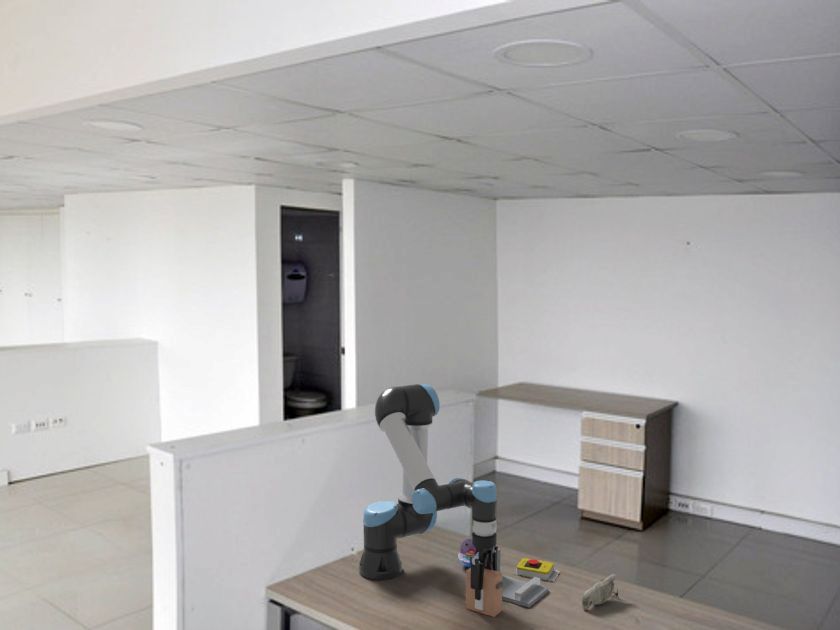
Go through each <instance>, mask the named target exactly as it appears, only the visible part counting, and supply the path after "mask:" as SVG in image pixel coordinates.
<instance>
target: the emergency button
mask: <svg viewBox="0 0 840 630" xmlns="http://www.w3.org/2000/svg"><path fill="white" fill-rule="evenodd" d="M516 567H517V568H516ZM516 567H515V568H516V574H518V575H517V576H520V575H522V576H521V577H525V576H527V577H526V578H531V577H532V578H531V579H533V578H534V577H537V578H540V580H542V579H543V581H547V580H548V581H549V582H555V581H556V580H557V579H558V576H559V575H558V574H560V573H561V571H560V570H559V569H555V564H554V562H551V561H544V560H540V559H539V560H538V559H534V558H526V557H523V558H521V560H520V561H519V563H518V564H517V566H516ZM558 570H559V571H558Z"/></svg>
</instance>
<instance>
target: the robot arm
mask: <svg viewBox="0 0 840 630" xmlns="http://www.w3.org/2000/svg"><path fill="white" fill-rule="evenodd" d="M440 405H441V404H440V398H439V396H438V394H437V392H436V389H435V388H434V387H433V386H432V385H430V384H428V383H416V384H409V385H401V386H391V387H389V388H386V389H384V390H383V391H382V392H381V393H380V394H379V396H378V397H377V399H376V402H375V408H374V416H375V421H376V423H377V426H378V428H379V430H380V431H382V432H384V433H385V435H386V437H387V440H388V441H389V443H390V445H391V447H392V449H393V450H394V452H395V454H396V457H397V459H398V461H399V463H400V464H401V467H402V492H400V494H398V497H397V499H398V500H397V503H396V502H394V501H392V500H379V501H376V502H372V503H370V504H369V505H367V506H366V508H365V509H364V512H363V520H362V522H363V551H362V554H361V557H360V561H359V564H358V573H359V574H360V576H362V577H364V578H367V579H370V580H376V581H377V580H389V579H393V578H396V577H398V576H399V575H401V574H402V572H403V563H402V560H401V556H400V554H399V551H398V540H399V539H402V538H407V537H411V536H415V535H416V536H417V535H423V534H425V533H427V532H430V531H432V530H433V529H434V527H435V525H436V523H437V520H438V512H440V511H444V510H451V509H454V508H459V507H466V508H468V509H471V511H472V512H471V513H472V516H471V519H472V520H471V531H472V532H471V535H472V536H471V538H472V544H473V545H474V546H475V548H476V551H475V556H474V558H472V557H471V558H470V564H471V584H470V587H471V589H475V608H476V609H479V610H482V611H483V610H484V589H482V586H483V575H484V570H485V569H489V570H494V571H497V552H498V549H499V546H498V545H497V533H496V532H497V527H498V524H497V516H498V515H497V508H498V494H497V485H496V484H495V482H493V481H492V480H491V481H490V480H489V481H488V480H481V479H480V480H476V481H473V482H471V481H470V480H468V479H465V478H461V477H456V478H453V479H452V480H451V481H449V482H448V483H447V484H441V485H439V483H438V481H437V480H436V478H435V477H434V474H433V472H432V471H431V469H430V467H429V465H428V444H429V443H428V442H429V441H428V440H429V427H430V426H431V425H432V424H433V417H435V416H437V414H438V413H439V412H440V408H441V407H440ZM481 563H483V564H481Z"/></svg>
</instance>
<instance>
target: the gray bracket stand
mask: <svg viewBox="0 0 840 630" xmlns="http://www.w3.org/2000/svg"><path fill="white" fill-rule="evenodd" d="M481 564H483V563H481ZM497 572H501V548H498V552H497ZM502 582H503V586H502V601H505V602H508V603H511V604H512V603H513V604H514V605H519V606H522V607H526V608H531V606H533V605H534V604H536V603H537V602H538V601H539V600H540V599H541V598H543V596H545V595H546V594H548V592H549V587H547V586H544V585H540V586H539V587H538V588H536V589H535V590H534V591H533V592H531V593H530V594H529V595H528V596H526V597H525V598H524V599H523V600H522V601H517V600H515V592H516V591H517V590H518V589H520V588H521V587H522V586H524V585H525V584H526V583H527V582H528V581H526V580H521V579H518V578H514V577H512V576H507V575H504V574H502Z"/></svg>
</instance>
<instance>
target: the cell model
mask: <svg viewBox="0 0 840 630" xmlns="http://www.w3.org/2000/svg"><path fill="white" fill-rule="evenodd" d="M458 549H459V551H458V552H459V553H458V554H457V557H458V560H459V562H460V563H461V564H462V566H465V567H466V568H468V569H469V568H471V564H470V558H471V557H472V558H474V556H475V551H476V548H475V546H474V545H473V544H472V537H468V538H466V539H464V540H462V541H461V543H460V545H459V548H458Z"/></svg>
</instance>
